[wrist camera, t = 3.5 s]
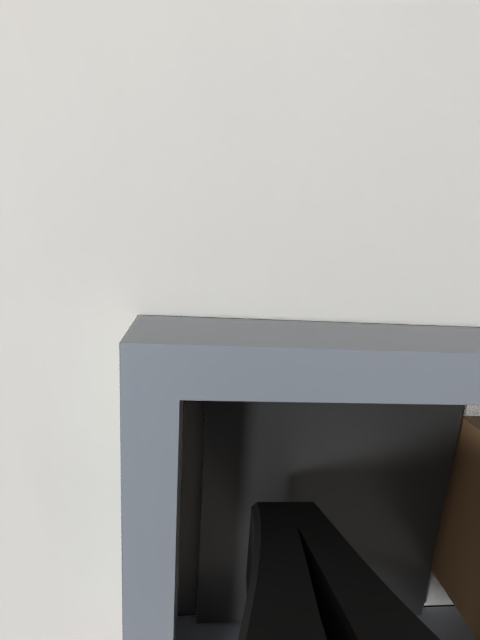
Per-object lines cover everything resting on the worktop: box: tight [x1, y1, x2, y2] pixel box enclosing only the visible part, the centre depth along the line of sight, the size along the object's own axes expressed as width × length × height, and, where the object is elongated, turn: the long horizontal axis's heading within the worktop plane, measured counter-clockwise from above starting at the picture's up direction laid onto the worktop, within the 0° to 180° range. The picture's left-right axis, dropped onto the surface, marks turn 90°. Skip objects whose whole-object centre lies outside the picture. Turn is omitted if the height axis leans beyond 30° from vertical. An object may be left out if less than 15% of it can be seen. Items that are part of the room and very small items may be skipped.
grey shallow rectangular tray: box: [119, 315, 480, 640], centre depth 9 cm, size 12×9×2 cm
